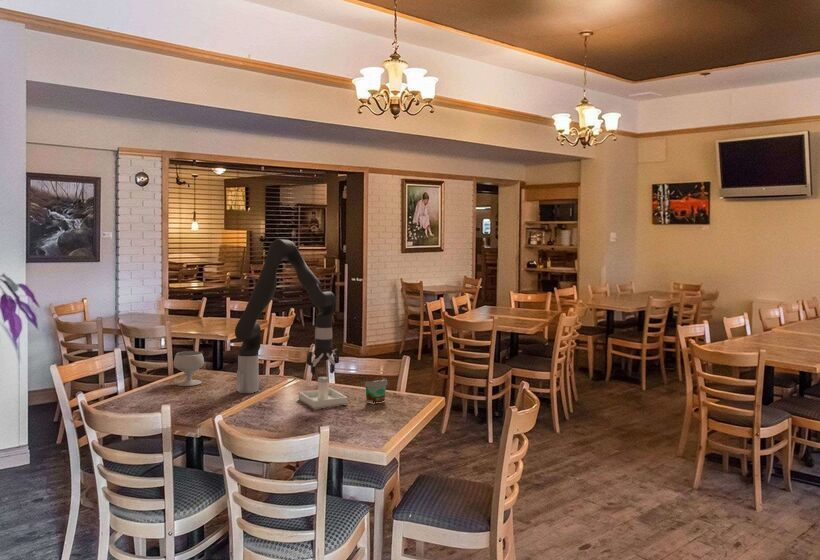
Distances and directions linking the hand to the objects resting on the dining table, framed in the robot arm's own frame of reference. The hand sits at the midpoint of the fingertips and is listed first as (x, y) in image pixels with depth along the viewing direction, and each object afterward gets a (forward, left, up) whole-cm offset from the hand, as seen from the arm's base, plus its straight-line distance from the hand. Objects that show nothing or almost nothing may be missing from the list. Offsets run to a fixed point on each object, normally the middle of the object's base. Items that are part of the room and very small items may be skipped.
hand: (322, 373), depth 282 cm
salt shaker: (0, 0, -12) cm, 12 cm away
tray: (0, 0, -13) cm, 13 cm away
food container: (+22, -11, -13) cm, 28 cm away
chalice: (-44, +61, -13) cm, 76 cm away
